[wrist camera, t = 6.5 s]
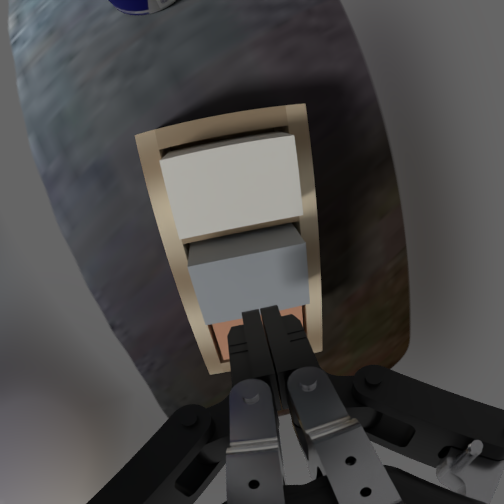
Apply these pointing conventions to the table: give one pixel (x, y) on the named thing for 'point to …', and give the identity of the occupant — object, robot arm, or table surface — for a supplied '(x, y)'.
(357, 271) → the table surface
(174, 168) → the ivory key
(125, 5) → the energy drink
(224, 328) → the rust key
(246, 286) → the slate key
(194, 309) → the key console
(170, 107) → the table surface
